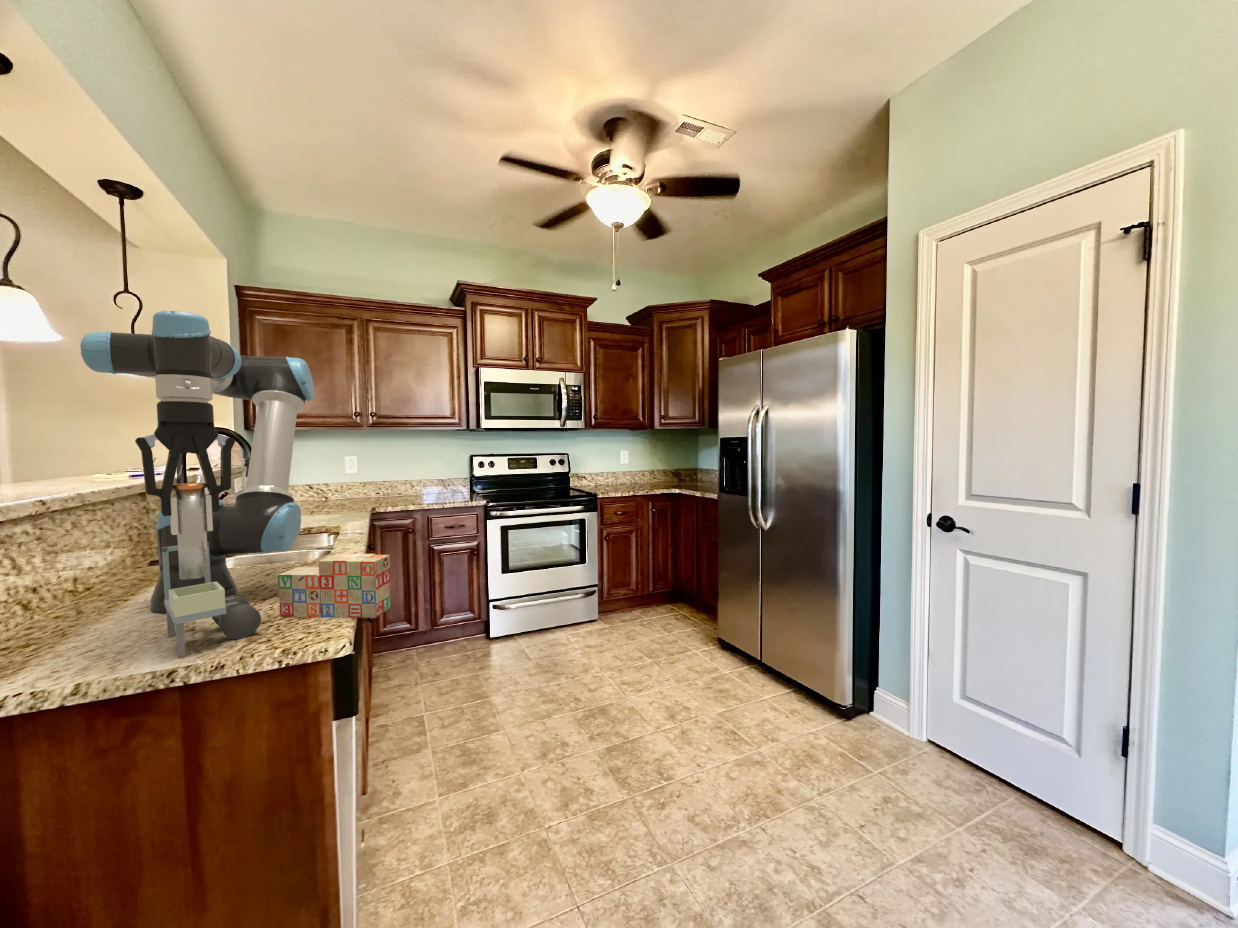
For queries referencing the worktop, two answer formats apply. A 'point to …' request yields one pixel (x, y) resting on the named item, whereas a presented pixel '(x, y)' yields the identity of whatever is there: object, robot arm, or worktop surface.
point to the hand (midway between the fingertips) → (192, 531)
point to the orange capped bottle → (192, 530)
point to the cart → (210, 612)
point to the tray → (196, 599)
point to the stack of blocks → (337, 587)
